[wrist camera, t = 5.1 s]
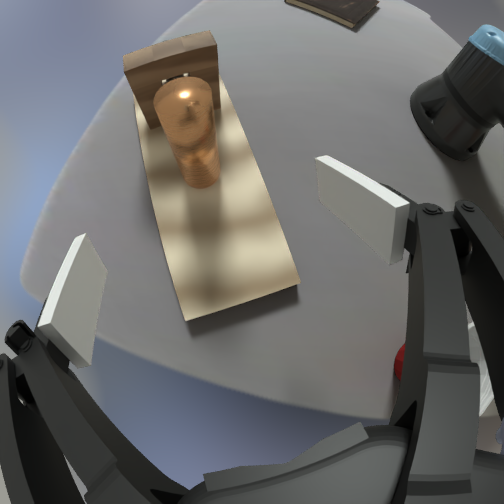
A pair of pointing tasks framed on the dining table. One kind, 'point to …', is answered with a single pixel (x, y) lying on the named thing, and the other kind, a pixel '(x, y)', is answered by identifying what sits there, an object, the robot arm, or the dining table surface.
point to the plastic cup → (475, 357)
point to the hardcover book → (339, 9)
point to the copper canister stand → (208, 191)
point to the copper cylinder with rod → (190, 128)
